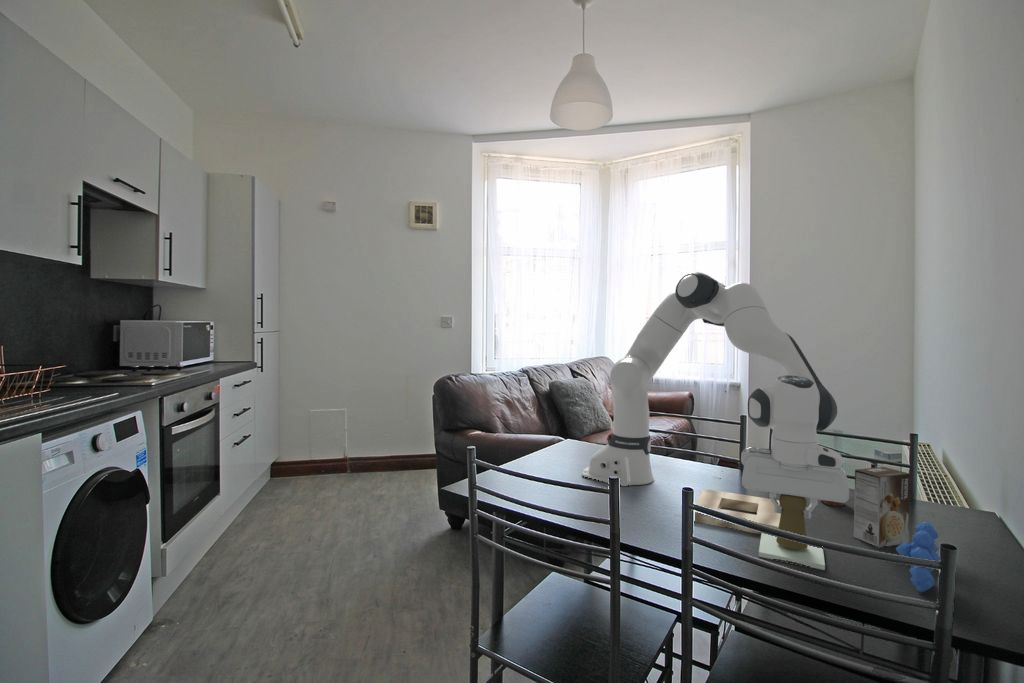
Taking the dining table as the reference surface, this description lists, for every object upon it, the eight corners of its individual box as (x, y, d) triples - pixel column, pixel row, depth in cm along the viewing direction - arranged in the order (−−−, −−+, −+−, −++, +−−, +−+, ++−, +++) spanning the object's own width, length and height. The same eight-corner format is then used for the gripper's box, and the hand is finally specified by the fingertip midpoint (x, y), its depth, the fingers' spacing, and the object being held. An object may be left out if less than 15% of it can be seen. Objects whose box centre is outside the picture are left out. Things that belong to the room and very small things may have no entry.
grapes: (899, 568, 102) (901, 510, 102) (943, 580, 98) (945, 519, 97) (889, 589, 94) (891, 526, 94) (936, 603, 90) (938, 537, 89)
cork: (799, 537, 113) (800, 489, 112) (813, 550, 107) (814, 498, 106) (771, 537, 113) (772, 488, 113) (783, 549, 107) (784, 497, 107)
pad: (758, 556, 107) (758, 551, 107) (761, 535, 118) (761, 531, 118) (824, 570, 102) (824, 565, 102) (821, 547, 112) (821, 542, 112)
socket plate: (690, 521, 126) (691, 511, 126) (703, 497, 144) (703, 488, 144) (781, 537, 117) (781, 527, 117) (782, 510, 134) (782, 500, 134)
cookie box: (881, 532, 120) (884, 465, 120) (909, 543, 114) (912, 473, 113) (852, 536, 118) (854, 468, 117) (879, 548, 111) (881, 476, 111)
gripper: (740, 449, 111) (738, 510, 112) (851, 461, 101) (849, 529, 102) (742, 443, 117) (741, 501, 117) (848, 454, 107) (846, 518, 107)
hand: (792, 514), depth 110 cm, fingers closed on cork, 4 cm apart
